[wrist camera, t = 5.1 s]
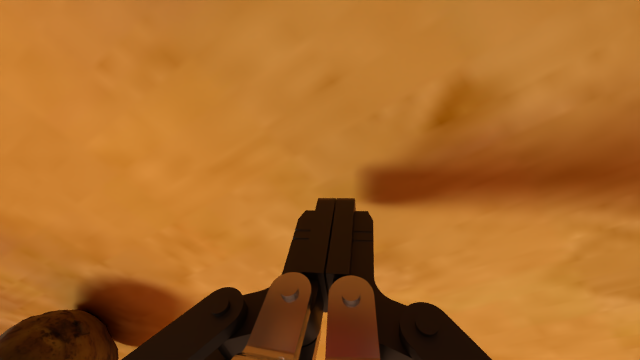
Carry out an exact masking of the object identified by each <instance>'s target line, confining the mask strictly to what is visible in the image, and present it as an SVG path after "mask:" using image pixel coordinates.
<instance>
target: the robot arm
mask: <svg viewBox="0 0 640 360" xmlns="http://www.w3.org/2000/svg"><path fill="white" fill-rule="evenodd" d="M323 312H328V315H327V335H326V355H325V360H492V359H491V358H490V357H489V356H488V355H487V354H486V353H485V352H484V351H483V350H482V349H481V348H480V347H479V346H478V345H477V344H476V343H475V342H474V341H473V340H472V339H471V338H470V337H469V336H468V335H467V334H466V333H465V332H464V331H463V330H462V329H460V328H459V327H458V326H457V325H456V324H455V323H454V322H453V321H452V320H451V319H450V318H449V317H448V316H447V315H446V314H445V313H444V312H443V311H442V310H441V309H439V308H438V307H436V306H434V305H432V304H429V303H424V302H417V303H413V304H410V305H409V306H406V305H403V304H401V303H398V302H396V301H393V300H391V299H389V298H387V297H386V296H385V295H383V294H382V293H381V292H380V290H379V289H378V288H377V286H376V284H375V281H374V254H373V220H372V218H371V216H370V215H369V213H368V211H356V208H355V198H337V200H336V198H319V199H318V201H317V205H316V209H315V211H308V210H306V211H305V212H304V213H303V214H302V216H301V217H300V218H299V219H298V222H297V226H296V229H295V232H294V236H293V240H292V242H291V246H290V249H289V253H288V256H287V259H286V263H285V266H284V270H283V273H282V275H281V276H279V277H278V278H276V279H275V280H274V281H273V283H272V284H271V286H270V287H269V288H267V289H265V290H262V291H258V292H254V293H250V294H246V295H242V294H241V292H240V291H239V290H237V289H235V288H231V287H225V288H221V289H218V290H216V291H214V292H213V293H211V294H210V295H209V296H207V297H206V298H204V299H203V300H202V301H200V302H199V303H198V304H196V305H195V306H194V307H192V308H191V309H190V310H188V311H187V312H185V313H184V314H183V315H181V316H180V317H179V318H177V319H176V320H175V321H173V322H172V323H171V324H169V325H168V326H166V327H165V328H164V329H162V330H161V331H160V332H158V333H157V334H156V335H154V336H153V337H152V338H150V339H149V340H147V341H146V342H145V343H143V344H142V345H141V346H139V347H138V348H137V349H135V350H134V351H133V352H131V353H130V354H128V355H127V356H126V357H124V358H123V359H122V360H316V355H317V350H318V345H319V341H320V336H321V322H322V315H323Z"/></svg>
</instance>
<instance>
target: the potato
mask: <svg viewBox="0 0 640 360" xmlns="http://www.w3.org/2000/svg"><path fill="white" fill-rule="evenodd" d="M0 360H118V348H117V346H116V344H115V342H114V341H113V340H112V339H111V336H110V334H109V332H108V330H107V326H106V325H105V324H103V323H102V322H101V321H100V320H99V319H97V317H95V316H93V315H91V314H89V313H87V312H85V311H81V310H58V311H51V312H47V313H44V314H42V315H38V316H31V317H29V318H27V319H25V320H22V321H21V322H20V323H18V324H16V325H14V326H13V327H11V328H10V329H8V330H7V331H5V332H4V333H3V334H2V335H1V336H0Z"/></svg>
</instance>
